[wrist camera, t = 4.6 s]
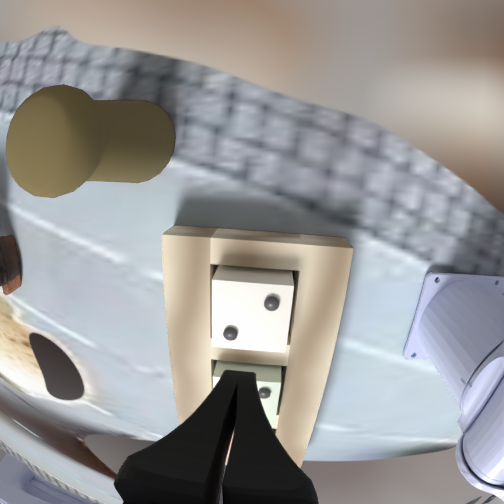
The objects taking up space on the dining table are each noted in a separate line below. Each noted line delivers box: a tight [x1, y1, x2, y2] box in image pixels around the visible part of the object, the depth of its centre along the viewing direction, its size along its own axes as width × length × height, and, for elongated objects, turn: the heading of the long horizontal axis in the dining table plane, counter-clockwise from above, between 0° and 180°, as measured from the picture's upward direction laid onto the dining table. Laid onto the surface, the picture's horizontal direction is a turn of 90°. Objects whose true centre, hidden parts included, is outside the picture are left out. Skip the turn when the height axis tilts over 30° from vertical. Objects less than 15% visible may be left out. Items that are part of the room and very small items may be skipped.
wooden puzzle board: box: [162, 226, 353, 468], centre depth 24 cm, size 12×24×2 cm, turn 177°
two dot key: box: [212, 265, 294, 353], centre depth 20 cm, size 5×5×3 cm
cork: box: [6, 84, 175, 198], centre depth 15 cm, size 6×6×11 cm
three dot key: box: [213, 360, 281, 425], centre depth 22 cm, size 5×5×3 cm
